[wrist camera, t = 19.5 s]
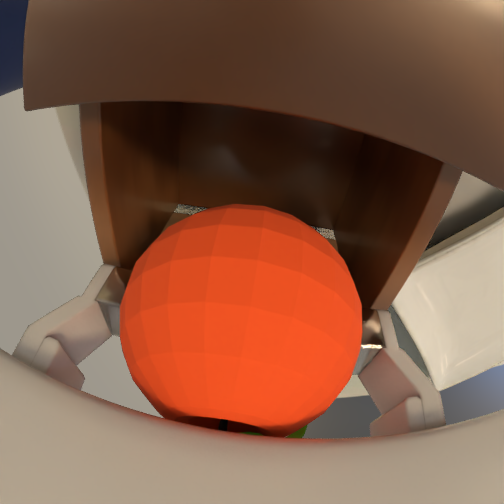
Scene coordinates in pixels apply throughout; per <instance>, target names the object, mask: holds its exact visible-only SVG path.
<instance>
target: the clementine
mask: <svg viewBox="0 0 504 504" xmlns="http://www.w3.org/2000/svg"><path fill="white" fill-rule="evenodd" d="M361 339H362V304H361V301H360V298H359V295H358V292H357V290H356V287H355V284H354V281H353V279H352V277H351V274H350V272H349V270H348V267H347V265H346V263H345V260H344V259H343V258H342V257H341V256H340V254H339V253H338V252H337V251H336V250H335V249H334V247H333V246H332V245H331V244H330V243H329V242H328V240H327V239H325V238H324V237H323V236H322V235H321V234H320V233H318V232H317V231H316V230H315V229H313V228H312V227H310V226H309V225H307V224H306V223H304V222H302V221H301V220H299V219H298V218H296V217H294V216H293V215H291V214H288V213H285V212H282V211H278V210H275V209H272V208H269V207H266V206H259V205H245V204H231V205H225V206H219V207H214V208H208V209H206V210H203V211H201V212H198V213H196V214H193V215H191V216H189V217H187V218H185V219H183V220H181V221H179V222H177V223H175V224H173V225H171V226H169V227H168V228H167V229H166V230H165V231H164V232H163V233H162V234H161V235H160V236H159V237H158V238H157V239H156V240H155V241H154V242H153V243H152V244H151V245H150V246H149V247H148V248H147V250H146V251H145V252H144V253H143V254H142V255H141V257H140V258H139V259H138V260H137V261H136V263H135V265H134V268H133V271H132V273H131V276H130V279H129V282H128V284H127V287H126V290H125V293H124V296H123V299H122V302H121V305H120V340H121V345H122V351H123V354H124V357H125V359H126V362H127V365H128V368H129V371H130V374H131V376H132V379H133V381H134V382H135V384H136V385H137V386H138V387H139V389H140V390H141V392H142V393H143V394H144V395H145V397H146V398H147V399H148V400H149V402H150V403H151V404H152V405H153V407H154V408H155V409H156V410H157V411H158V412H159V414H160V415H162V416H163V417H164V418H165V419H168V420H172V421H177V422H181V423H185V424H190V425H195V426H200V427H205V428H210V429H216V430H222V431H228V432H235V433H242V434H251V435H260V436H271V437H285V438H302V437H303V436H304V434H305V431H306V428H307V425H308V423H310V422H312V421H313V420H315V419H316V418H317V417H319V416H320V415H322V414H323V413H324V412H325V411H326V410H327V409H328V407H329V406H330V405H331V404H332V402H333V401H334V400H335V399H336V397H337V396H338V395H339V393H340V392H341V391H342V390H343V388H344V387H345V385H346V384H347V383H348V381H349V380H350V378H351V376H352V373H353V370H354V367H355V364H356V361H357V358H358V355H359V352H360V347H361ZM288 435H289V436H288ZM286 436H287V437H286Z"/></svg>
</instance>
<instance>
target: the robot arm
mask: <svg viewBox="0 0 504 504" xmlns="http://www.w3.org/2000/svg"><path fill="white" fill-rule="evenodd" d="M132 271H133V270H130V269H126V268H122V267H118V266H113V265H109V264H103V265H102V266H101V267H100V268H99V270H98V271H97V273H96V274H95V276H94V277H93V279H92V280H91V282H90V284H89V285H88V287H87V288H86V290H85V292H84V293H83V295H82V296H77V297H75V298H73V299H72V300H70V301H68V302H67V303H65V304H63V305H61V306H60V307H58V308H57V309H55V310H53V311H52V312H50V313H48V314H47V315H45V316H43V317H42V318H40V319H38V320H37V321H35V322H34V323H32V324H30V325H29V326H28V327H27V329H26V331H25V333H24V334H23V336H22V338H21V339H20V342H19V343H18V345H17V347H16V349H15V351H14V352H13V354H12V355H10V354H8V353H7V352H5V351H4V350H2V349H0V504H504V409H502V410H500V411H496V412H494V413H491V414H487V415H484V416H481V417H477V418H474V419H470V420H467V421H463V422H459V423H455V424H451V425H446V422H445V416H444V410H443V405H442V400H441V396H440V393H439V391H438V390H437V389H436V388H435V386H434V385H433V384H432V383H431V382H430V380H429V379H428V378H427V377H426V376H425V374H424V373H423V372H422V371H421V370H420V369H419V367H418V366H417V365H416V364H415V363H414V361H413V360H412V359H411V358H410V357H409V356H408V355H407V353H406V352H405V351H404V350H403V349H399V345H398V341H397V337H396V333H395V330H394V326H393V322H392V319H391V315H390V312H389V311H388V310H379V309H370V308H362V339H361V347H360V352H359V355H358V358H357V361H356V364H355V367H354V370H353V373H352V374H353V375H358V377H359V379H360V380H361V382H362V383H363V385H364V387H365V388H366V390H367V392H368V393H369V395H370V396H371V398H372V400H373V401H374V403H375V405H376V406H377V408H378V410H379V411H380V413H381V414H382V416H380V417H379V418H377V419H376V420H374V421H373V422H372V423H371V424H370V437H361V438H339V439H306V438H284V437H271V436H260V435H251V434H242V433H235V432H228V431H222V430H216V429H210V428H205V427H200V426H195V425H190V424H185V423H181V422H177V421H172V420H168V419H165V418H160V417H157V416H153V415H149V414H146V413H143V412H139V411H136V410H133V409H130V408H127V407H124V406H121V405H118V404H115V403H112V402H109V401H107V400H104V399H101V398H98V397H96V396H93V395H91V394H88V393H86V392H83V391H81V388H82V385H83V383H84V380H85V377H84V375H83V374H82V373H81V371H80V370H79V369H78V367H77V365H78V364H79V363H80V362H81V361H82V360H84V359H85V358H86V357H87V356H88V355H90V354H91V353H92V352H93V351H94V350H95V349H97V348H98V347H99V346H100V345H102V344H103V343H104V342H105V341H106V340H107V339H109V338H110V337H111V336H112V335H115V336H119V337H120V305H121V302H122V299H123V296H124V293H125V290H126V287H127V284H128V282H129V279H130V276H131V273H132Z"/></svg>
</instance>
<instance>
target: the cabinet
mask: <svg viewBox="0 0 504 504" xmlns="http://www.w3.org/2000/svg"><path fill="white" fill-rule="evenodd" d="M23 95H24V109H25V111H32V110H37V109H44V108H51V107H58V106H66V105H75V104H86V103H100V102H123V101H164V102H187V103H201V104H213V105H223V106H232V107H240V108H248V109H255V110H261V111H267V112H273V113H279V114H285V115H290V116H295V117H300V118H305V119H309V120H314V121H318V122H322V123H327V124H331V125H335V126H339V127H342V128H346V129H350V130H353V131H357V132H360V133H364V134H367V135H370V136H374V137H377V138H380V139H383V140H386V141H389V142H392V143H395V144H398V145H401V146H404V147H406V148H409V149H412V150H415V151H417V152H420V153H422V154H425V155H427V156H430V157H432V158H435V159H437V160H440V161H442V162H444V163H447V164H449V165H451V166H453V167H456V168H458V169H460V170H462V171H464V172H466V173H469V174H471V175H473V176H475V177H477V178H479V179H481V180H483V181H485V182H487V183H488V184H490V185H492V186H494V187H496V188H498V189H500V190H501V191H503V192H504V0H29V2H28V9H27V16H26V24H25V34H24V49H23Z"/></svg>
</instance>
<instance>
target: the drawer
mask: <svg viewBox="0 0 504 504" xmlns="http://www.w3.org/2000/svg"><path fill="white" fill-rule="evenodd" d="M79 110H80V128H81V140H82V150H83V159H84V167H85V175H86V181H87V188H88V194H89V200H90V205H91V211H92V216H93V221H94V225H95V230H96V235H97V239H98V243H99V247H100V251H101V255H102V259H103V263H104V264H109V265H113V266H118V267H122V268H126V269H130V270H133V268H134V265H135V263H136V261H137V260H138V259H139V258H140V257H141V255H142V254H143V253H144V252H145V251H146V250H147V248H148V247H149V246H150V245H151V244H152V243H153V242H154V241H155V240H156V239H157V238H158V237H159V236H160V235H161V234H162V233H163V232H164V231H165V230H166V229H167V228H168V227H169V226H171V225H173V224H175V223H177V222H179V221H181V220H183V219H185V218H187V217H189V216H191V215H189V214H182V213H176V212H174V211H175V209H176V208H177V206H178V204H184V205H191V206H197V207H204V208H214V207H219V206H225V205H231V204H245V205H259V206H266V207H269V208H272V209H275V210H278V211H282V212H285V213H288V214H291V215H293V216H294V217H296V218H298V219H299V220H301V221H302V222H304V223H306V224H307V225H310V226H315V227H320V228H325V229H330V230H334V235H335V239H336V240H334V239H329V238H325V239H327V240H328V242H329V243H330V244H331V245H332V246H333V247H334V249H335V250H336V251H337V252H338V253H339V254H340V256H341V257H342V258H343V259H344V260H345V263H346V265H347V267H348V270H349V272H350V274H351V277H352V279H353V281H354V284H355V287H356V290H357V292H358V295H359V298H360V301H361V304H362V308H370V309H379V310H388V308H389V307H390V305H391V304H392V302H393V301H394V299H395V298H396V296H397V295H398V293H399V292H400V290H401V289H402V287H403V285H404V284H405V282H406V281H407V279H408V277H409V276H410V274H411V273H412V271H413V269H414V268H415V266H416V264H417V263H418V261H419V259H420V257H421V256H422V254H423V252H424V250H425V249H426V247H427V245H428V243H429V241H430V239H431V238H432V236H433V234H434V232H435V230H436V228H437V226H438V224H439V222H440V220H441V218H442V216H443V214H444V212H445V210H446V208H447V206H448V204H449V201H450V199H451V197H452V195H453V193H454V190H455V188H456V186H457V183H458V181H459V179H460V176H461V174H462V170H460V169H458V168H456V167H453V166H451V165H449V164H447V163H444V162H442V161H440V160H437V159H435V158H432V157H430V156H427V155H425V154H422V153H420V152H417V151H415V150H412V149H409V148H406V147H404V146H401V145H398V144H395V143H392V142H389V141H386V140H383V139H380V138H377V137H374V136H370V135H367V134H364V133H360V132H357V131H353V130H350V129H346V128H342V127H339V126H335V125H331V124H327V123H322V122H318V121H314V120H309V119H305V118H300V117H295V116H290V115H285V114H279V113H273V112H267V111H261V110H255V109H248V108H240V107H232V106H223V105H213V104H201V103H187V102H164V101H123V102H100V103H86V104H79Z"/></svg>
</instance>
